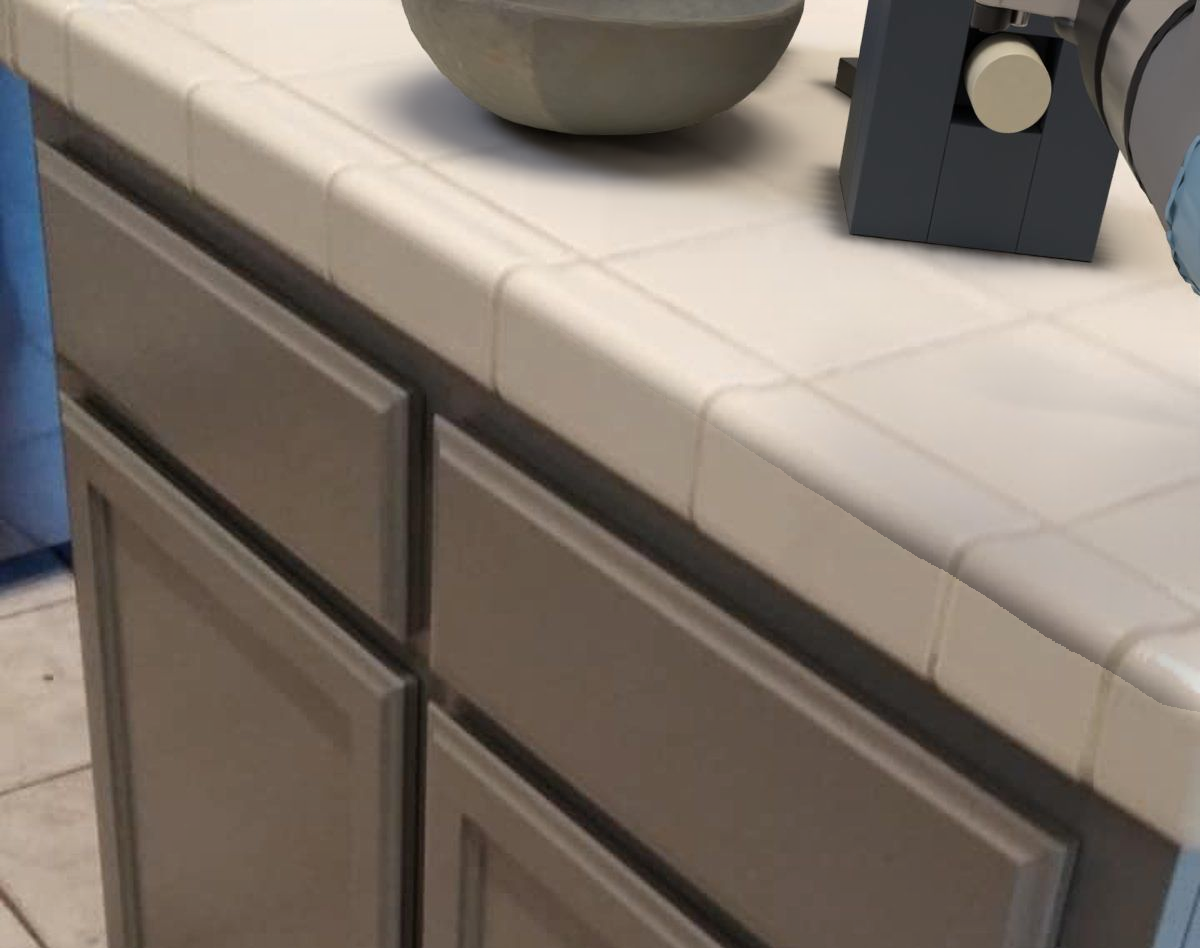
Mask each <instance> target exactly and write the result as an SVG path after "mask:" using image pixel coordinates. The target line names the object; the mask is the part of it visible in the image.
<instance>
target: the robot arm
mask: <svg viewBox="0 0 1200 948" xmlns="http://www.w3.org/2000/svg"><path fill="white" fill-rule="evenodd" d="M1030 13H1034V14H1039V15H1045V16H1050V17H1052V24H1053V27H1054V30H1055V31H1056V33H1057V34H1058V35H1059V36H1060V37H1062V38H1063V39H1065V40H1067V41H1069V42H1071V43H1073V44H1075V45H1077V47H1078V54H1079V61H1080V67H1081V72H1082V76H1083V80H1084V83H1085V87H1086V90H1087V92H1088V95H1089V97H1090V100H1091V102H1092V104H1093V105H1094V107H1095V109H1096V111H1097V113H1098V115H1099V116H1100V118H1101V120H1102V122H1103V124H1104V125H1105V127H1106V129H1107V131H1108V133H1109V134H1110V136H1111V137H1112V139H1113V140H1114V142H1115V143H1116V145H1117V146H1118V148H1119V149H1120V150H1119V152H1120V153H1121V155H1122V157H1123V159H1124V160H1125V162H1126V164H1127V166H1128V167H1129V169H1130V171H1131V172H1132V174H1133V176H1134V178H1135V180H1136V182H1137V183H1138V186H1139V188H1140V189H1141V190H1142V192H1143V193H1144V194H1145V197H1146V198H1147V200H1148V202H1149V203H1150V205H1152V207H1153V209H1154V211H1155V213H1156V215H1157V218H1158V220H1159V222H1160V224H1161V227H1162V228H1163V230H1164V232H1165V238H1166V241H1167V243H1168V245H1169V247H1170V252H1171V253H1170V254H1171V258H1172V261H1173V264H1174V265H1175V267H1176V269H1177V272H1178V274H1179V275H1180V276H1181V278H1182V279H1183V281H1184V282H1185V283H1187V284H1189V285H1190V288H1191V289H1192V291H1193V293H1194V294H1196V295H1197V296H1199V297H1200V0H974V7H973V12H972V17H971V22H970V25H972V26H973V27H976V28H979V29H980V31H982V32H985V33H995V32H997V31H1004V30H1006V29H1007V28H1008V27H1009V26H1010V25H1014V26H1019V27H1024V26H1026V25H1027V23H1028V18H1029V14H1030Z"/></svg>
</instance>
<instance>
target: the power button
mask: <svg viewBox="0 0 1200 948" xmlns="http://www.w3.org/2000/svg"><path fill="white" fill-rule="evenodd" d="M964 84H965V87H966V90H967V93H968V95H969V98H970V100H971V103H972V106H973V108H974V111H975V113H976V115H977V117H978V118H979V120H980V121H981V122H982V123H983V124H984V125H985V126H987V127H988V128H990V129H992V130H994V131H997V132H1001V133H1014V132H1019V131H1022V130H1024V129H1026V128H1028V127H1030V126H1031V125H1033V124H1034V123H1035V122H1036V121H1038V119H1039V118H1040V117H1041V116H1042V115H1043V113H1044V112H1045V110H1046V108H1047V106H1048V104H1049V101H1050V97H1051V81H1050V77H1049V75H1048V72H1047V70H1046V68H1045V67H1044V65H1043V63H1042V61H1041V59H1040V57H1039V55H1038V53H1037V51H1036V49H1035V48H1034V46H1033V45H1032V44H1031V43H1030V42H1029V41H1028V40H1027V39H1025V38H1023V37H1022V36H1019V35H1016V34H1012V33H999V34H995V35H992V36H990V37H988V38H986V39H984V40H983V41H981V42H980V43H979V44H978V45H977V46H976V47H975V48H974V49H973V50H972V52H971V53H970V55H969V57H968V59H967V61H966V64H965V68H964Z"/></svg>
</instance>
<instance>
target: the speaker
mask: <svg viewBox="0 0 1200 948" xmlns="http://www.w3.org/2000/svg"><path fill="white" fill-rule="evenodd" d="M973 7H974V0H867V6H866V11H865V16H864V23H863V28H862V35H861V42H860V46H859V52H858V57H859V58H858V63H857V69H856V75H855V81H854V87H853V93H852V97H851V99H850V105H849V111H848V116H847V122H846V129H845V134H844V140H843V146H842V152H841V158H840V163H839V169H838V174H839V180H840V186H841V191H842V196H843V202H844V209H845V213H846V218H847V225H848V230H849V234H851V235H858V236H859V235H861V236H867V237H868V236H869V237H877V238H885V239H894V240H903V241H911V242H919V243H920V242H921V243H928V244H935V245H944V246H952V247H953V246H954V247H962V248H971V249H979V250H980V249H981V250H988V251H996V252H1005V253H1016V254H1022V255H1030V256H1031V255H1032V256H1040V257H1047V258H1048V257H1049V258H1057V259H1066V260H1073V261H1083V262H1093V260H1094V259H1093V258H1094V254H1095V251H1096V246H1097V243H1098V239H1099V234H1100V230H1101V227H1102V222H1103V218H1104V214H1105V210H1106V206H1107V202H1108V198H1109V194H1110V190H1111V186H1112V181H1113V178H1114V174H1115V170H1116V167H1117V162H1118V157H1119V154H1120V149H1119V148H1118V146H1117V145H1116V143H1115V142H1114V140H1113V139H1112V137H1111V136H1110V134H1109V133H1108V131H1107V129H1106V127H1105V125H1104V124H1103V122H1102V120H1101V118H1100V116H1099V115H1098V113H1097V111H1096V109H1095V107H1094V105H1093V104H1092V102H1091V100H1090V97H1089V95H1088V92H1087V90H1086V87H1085V83H1084V80H1083V76H1082V72H1081V67H1080V61H1079V54H1078V47H1077V45H1075V44H1073V43H1071V42H1069V41H1067V40H1065V39H1063V38H1062V37H1060V36H1059V35H1058V34H1057V33H1056V31H1055V30H1054V27H1053V24H1052V17H1050V16H1045V15H1039V14H1034V13H1030V14H1029V18H1028V23H1027V25H1026V26H1024V27H1019V26H1014V25H1010V26H1009V27H1008V28H1007V29H1006V30H1004V31H997V32H995V33H985V32H982V31H980V29H979V28H976V27H973V26H972V25H970V22H971V17H972V12H973ZM999 33H1012V34H1016V35H1019V36H1022V37H1023V38H1025V39H1027V40H1028V41H1029V42H1030V43H1031V44H1032V45H1033V46H1034V48H1035V49H1036V51H1037V53H1038V55H1039V57H1040V59H1041V61H1042V63H1043V65H1044V67H1045V68H1046V70H1047V72H1048V75H1049V77H1050V81H1051V97H1050V101H1049V104H1048V106H1047V108H1046V110H1045V112H1044V113H1043V115H1042V116H1041V117H1040V118H1039V119H1038V121H1036V122H1035V123H1034V124H1033V125H1031V126H1030V127H1028V128H1026V129H1024V130H1022V131H1019V132H1014V133H1001V132H997V131H994V130H992V129H990V128H988V127H987V126H985V125H984V124H983V123H982V122H981V121H980V120H979V118H978V117H977V115H976V113H975V111H974V108H973V106H972V103H971V100H970V98H969V95H968V93H967V90H966V87H965V84H964V68H965V64H966V61H967V59H968V57H969V55H970V53H971V52H972V50H973V49H974V48H975V47H976V46H977V45H978V44H979V43H980V42H981V41H983V40H984V39H986V38H988V37H990V36H992V35H995V34H999Z"/></svg>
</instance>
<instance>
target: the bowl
mask: <svg viewBox="0 0 1200 948" xmlns="http://www.w3.org/2000/svg"><path fill="white" fill-rule="evenodd" d="M400 1H401V7H402V9H403V13H404V15H405V17H406V20H407V22H408V25H409V27H410V31H411V32H412V34H413V35H414V37H415V38H416V40H417V42H418V43H419V45H420V46H421V48H422V49H423V51H425V53H426V54H427V55H428V57H429V58H430V60H431V61H432V62H433V64H434V66H435V67H436V68H437V70H438V71H439V72H440V74H442V75H443V76H444V77H445V78H446V79H447V80H448V81H449V82H450V83H451V84H452V85H453V86H454V87H455V88H456V89H458V91H460V92H461V93H462V94H463V95H465V97H467V98H469V100H471V101H472V102H474V103H475V104H476V105H478V106H480V107H481V108H483V109H486V110H487V111H489V112H491V113H492V114H494V115H496V116H498V117H500V118H502V119H504V120H506V121H509V122H511V123H515V124H518V125H523V126H527V127H530V128H534V129H539V130H545V131H550V132H556V133H562V134H571V135H578V136H580V135H581V136H631V135H632V136H633V135H646V134H653V133H661V132H669V131H674V130H679V129H683V128H686V127H690V126H693V125H695V124H699V123H701V122H704V121H707V120H709V119H711V118H714V117H715V116H717V115H720V114H723V112H726V111H728V110H730V109H731V108H732V109H733V107H734V106H736V105H738V104H739V103H740V102H742V101H744V100H745V99H746V98H747V97H748V96H750V95H751V94H752V93H753V92H754V91H755V90H756V89H757V88H758V87H759V86H760V85H761V84H762V83H763V82H764V81H765V80H766V79H767V78H768V76H769V75H770V74H771V73H772V71H773V70H774V69H775V68H776V66H777V65H778V63H779V61H780V60H781V58H782V57H783V55H784V54H785V52H786V51H787V49H788V47H789V45H790V44H791V42H792V40H793V38H794V35H795V33H796V31H797V29H798V27H799V24H800V22H801V19H802V17H803V14H804V11H805V3H806V0H400Z"/></svg>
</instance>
